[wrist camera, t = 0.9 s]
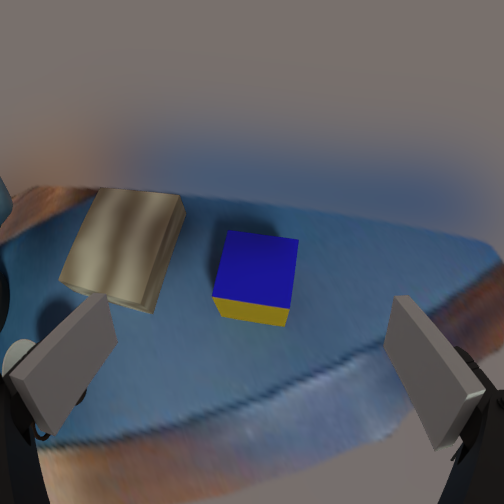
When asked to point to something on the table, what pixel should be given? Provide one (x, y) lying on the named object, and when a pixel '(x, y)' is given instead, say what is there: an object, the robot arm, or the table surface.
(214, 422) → the table surface
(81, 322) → the robot arm
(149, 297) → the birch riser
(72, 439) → the table surface
